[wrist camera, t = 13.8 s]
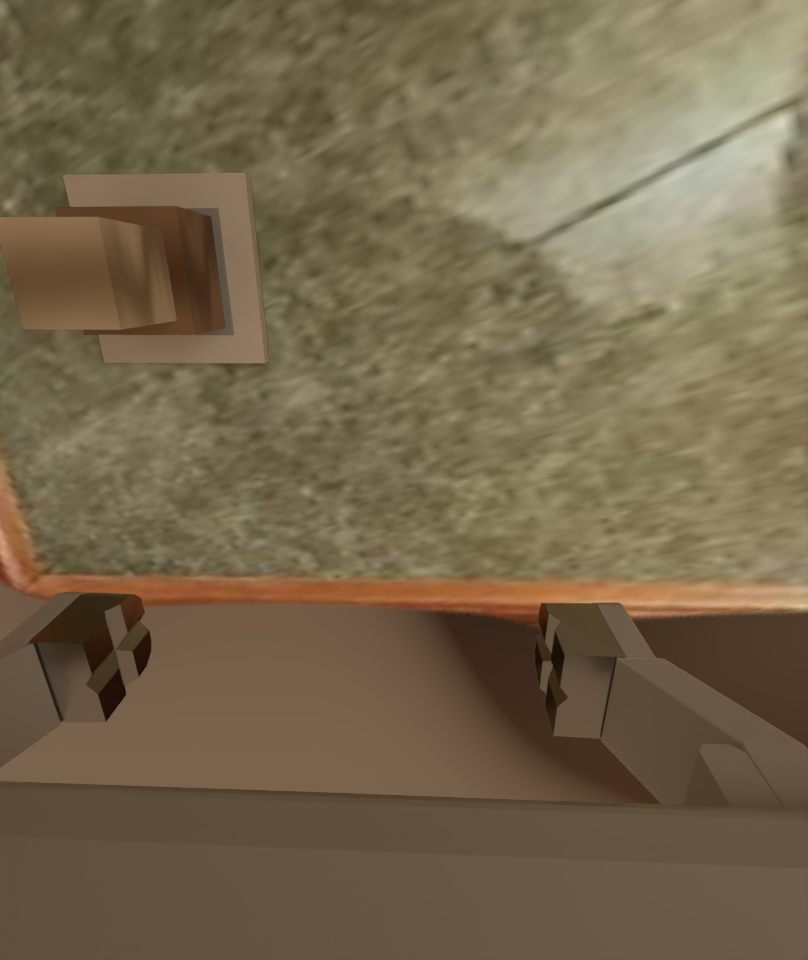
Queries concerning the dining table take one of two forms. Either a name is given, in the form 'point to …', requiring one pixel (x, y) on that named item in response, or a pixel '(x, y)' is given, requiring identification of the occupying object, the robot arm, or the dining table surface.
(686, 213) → the dining table surface
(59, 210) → the walnut block
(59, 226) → the maple block
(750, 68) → the dining table surface
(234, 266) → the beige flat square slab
